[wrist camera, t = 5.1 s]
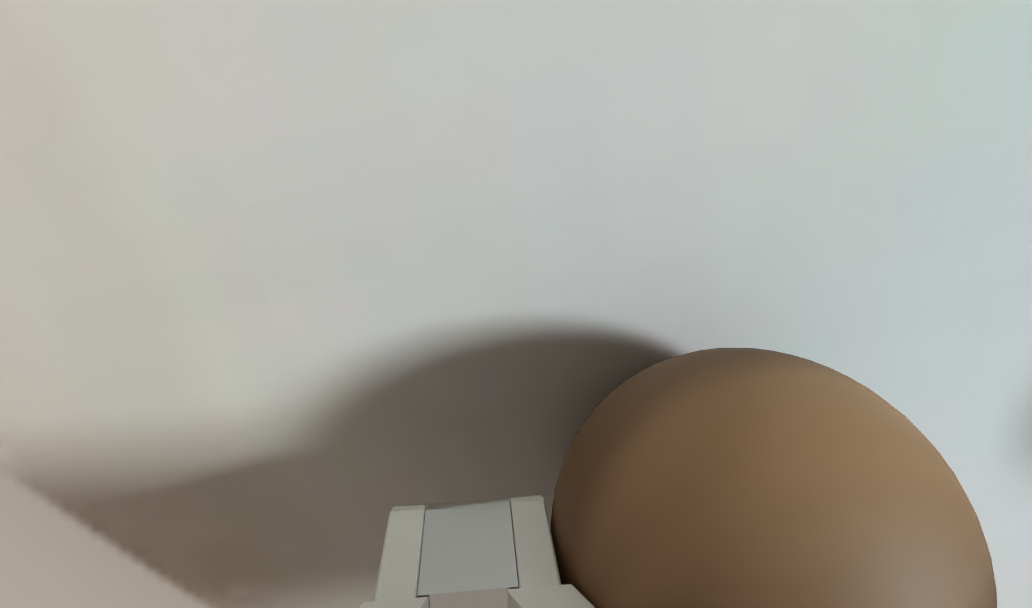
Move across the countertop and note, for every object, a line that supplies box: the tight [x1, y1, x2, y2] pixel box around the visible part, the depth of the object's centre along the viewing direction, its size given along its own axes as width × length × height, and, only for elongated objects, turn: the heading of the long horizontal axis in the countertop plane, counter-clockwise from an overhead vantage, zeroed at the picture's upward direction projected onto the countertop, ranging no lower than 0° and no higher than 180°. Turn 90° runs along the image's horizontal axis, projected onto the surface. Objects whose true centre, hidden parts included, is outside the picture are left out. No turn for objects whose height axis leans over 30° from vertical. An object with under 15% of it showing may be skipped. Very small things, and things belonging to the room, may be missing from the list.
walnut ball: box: [551, 348, 997, 608], centre depth 8 cm, size 5×5×5 cm
